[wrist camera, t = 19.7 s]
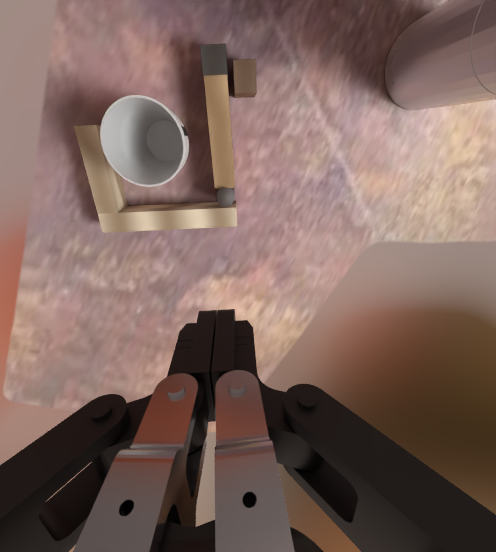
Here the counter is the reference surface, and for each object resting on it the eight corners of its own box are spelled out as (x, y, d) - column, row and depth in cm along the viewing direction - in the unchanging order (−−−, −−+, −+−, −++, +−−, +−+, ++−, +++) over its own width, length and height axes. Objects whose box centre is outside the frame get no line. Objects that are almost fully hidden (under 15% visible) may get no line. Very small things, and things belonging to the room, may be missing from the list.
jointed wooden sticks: (253, 67, 34) (255, 59, 30) (257, 217, 42) (259, 225, 38) (76, 73, 33) (57, 66, 30) (114, 224, 41) (102, 232, 38)
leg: (226, 53, 33) (225, 41, 29) (236, 198, 40) (236, 205, 36) (204, 55, 33) (199, 43, 29) (217, 199, 40) (215, 207, 36)
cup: (209, 137, 37) (201, 138, 28) (174, 187, 39) (156, 202, 30) (155, 89, 34) (127, 73, 25) (121, 145, 37) (84, 149, 28)
